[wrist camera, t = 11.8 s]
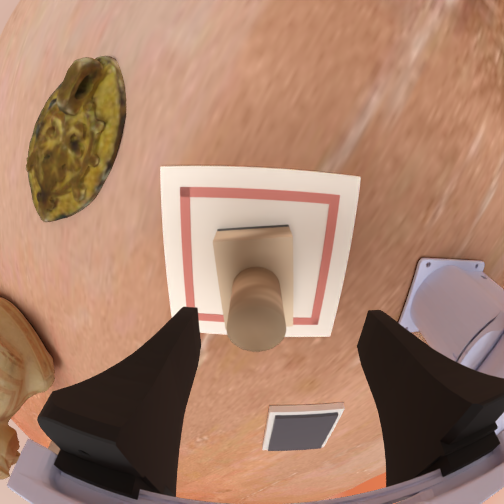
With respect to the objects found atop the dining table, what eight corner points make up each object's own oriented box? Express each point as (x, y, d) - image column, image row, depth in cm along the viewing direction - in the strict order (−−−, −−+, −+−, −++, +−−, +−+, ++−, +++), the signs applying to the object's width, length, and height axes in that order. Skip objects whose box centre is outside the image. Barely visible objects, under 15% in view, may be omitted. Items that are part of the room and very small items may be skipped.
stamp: (288, 224, 19) (304, 269, 13) (289, 307, 22) (300, 370, 16) (217, 228, 20) (199, 275, 13) (228, 310, 22) (219, 374, 16)
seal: (94, 237, 22) (160, 74, 17) (71, 262, 18) (142, 63, 12) (22, 199, 19) (72, 47, 14) (-7, 217, 15) (42, 37, 10)
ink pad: (343, 402, 28) (345, 411, 27) (322, 441, 33) (323, 449, 31) (269, 405, 28) (269, 415, 27) (262, 444, 33) (262, 452, 31)
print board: (358, 176, 18) (361, 177, 18) (329, 332, 24) (330, 337, 23) (162, 166, 18) (159, 166, 18) (175, 326, 24) (173, 330, 23)
